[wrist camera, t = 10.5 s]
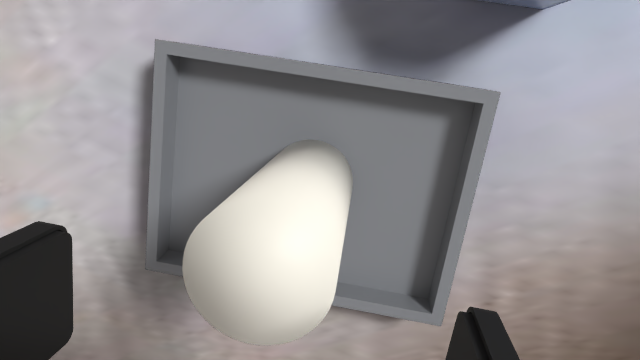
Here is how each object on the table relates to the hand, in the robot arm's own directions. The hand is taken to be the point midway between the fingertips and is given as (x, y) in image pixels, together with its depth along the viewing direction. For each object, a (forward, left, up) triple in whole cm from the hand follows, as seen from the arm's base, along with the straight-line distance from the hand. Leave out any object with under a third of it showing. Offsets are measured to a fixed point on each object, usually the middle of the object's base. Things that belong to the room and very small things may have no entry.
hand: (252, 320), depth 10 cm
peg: (0, 0, -13) cm, 13 cm away
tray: (0, 0, -14) cm, 14 cm away
